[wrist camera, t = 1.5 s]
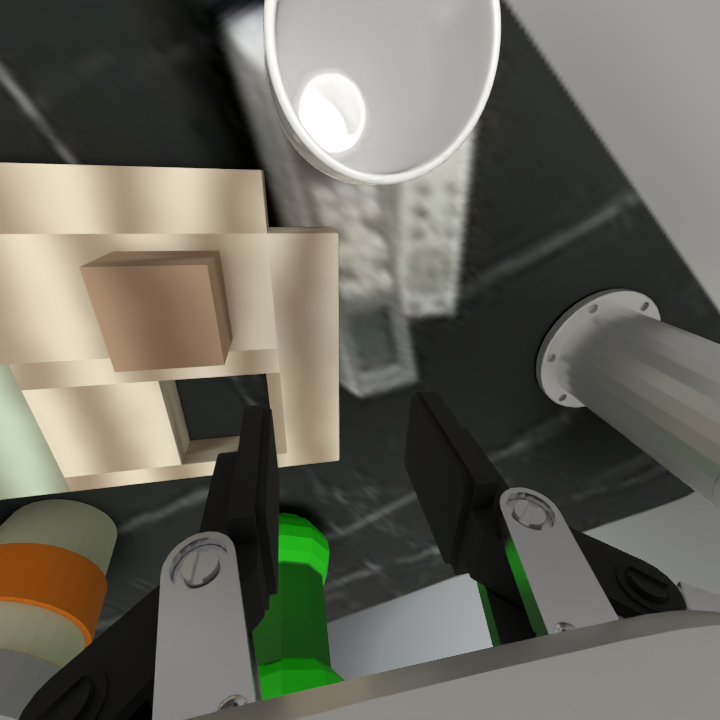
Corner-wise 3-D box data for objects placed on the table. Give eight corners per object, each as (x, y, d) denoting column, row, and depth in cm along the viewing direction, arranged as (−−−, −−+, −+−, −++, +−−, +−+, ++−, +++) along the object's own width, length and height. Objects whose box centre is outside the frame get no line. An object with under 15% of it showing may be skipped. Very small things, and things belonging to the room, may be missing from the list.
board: (332, 172, 24) (338, 172, 21) (334, 438, 35) (339, 460, 32) (-298, 154, 18) (-395, 151, 16) (-62, 480, 29) (-96, 510, 26)
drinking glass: (255, 72, 21) (207, -96, 8) (363, 35, 21) (494, -189, 8) (297, 193, 24) (314, 218, 11) (390, 161, 24) (514, 148, 11)
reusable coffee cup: (99, 586, 38) (2, 803, 25) (-44, 550, 32) (-264, 805, 19) (163, 516, 35) (92, 718, 22) (19, 463, 30) (-190, 692, 17)
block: (219, 250, 22) (207, 264, 19) (232, 338, 25) (224, 365, 21) (112, 251, 21) (79, 267, 18) (139, 343, 24) (115, 372, 20)
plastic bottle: (330, 491, 38) (393, 920, 16) (324, 555, 43) (365, 953, 21) (231, 498, 36) (150, 1004, 14) (236, 564, 40) (180, 1020, 19)
